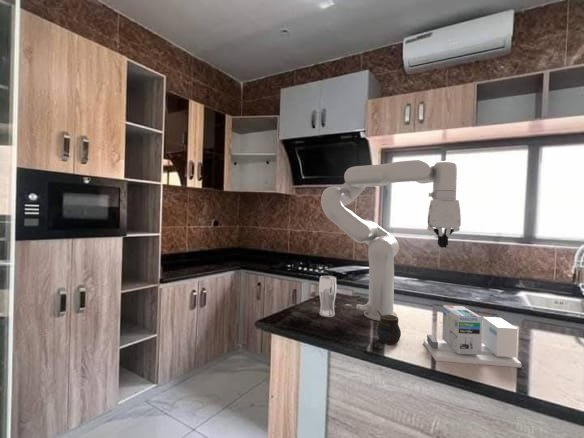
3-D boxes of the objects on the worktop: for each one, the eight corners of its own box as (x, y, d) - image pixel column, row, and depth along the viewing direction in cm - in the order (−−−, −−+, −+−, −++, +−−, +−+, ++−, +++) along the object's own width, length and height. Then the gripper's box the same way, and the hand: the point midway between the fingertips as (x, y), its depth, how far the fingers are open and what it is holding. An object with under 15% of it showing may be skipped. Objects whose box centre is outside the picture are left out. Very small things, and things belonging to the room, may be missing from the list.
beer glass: (337, 317, 122) (337, 279, 122) (319, 317, 123) (319, 278, 122) (334, 312, 129) (335, 275, 129) (317, 311, 130) (318, 275, 129)
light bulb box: (482, 355, 88) (483, 316, 87) (457, 354, 88) (458, 316, 88) (463, 339, 98) (464, 305, 98) (441, 339, 98) (442, 304, 98)
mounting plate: (435, 360, 88) (435, 346, 88) (423, 343, 100) (424, 330, 100) (521, 367, 85) (521, 352, 85) (498, 348, 97) (498, 335, 97)
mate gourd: (405, 346, 98) (406, 314, 97) (382, 347, 96) (383, 314, 96) (394, 336, 105) (394, 307, 104) (372, 337, 103) (373, 307, 103)
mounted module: (496, 356, 87) (497, 327, 87) (481, 342, 96) (482, 316, 96) (516, 357, 87) (517, 328, 86) (499, 344, 96) (500, 317, 95)
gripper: (425, 195, 111) (423, 247, 111) (470, 196, 109) (469, 249, 109) (419, 196, 118) (418, 245, 119) (462, 197, 116) (460, 246, 116)
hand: (442, 247), depth 114 cm, fingers closed
